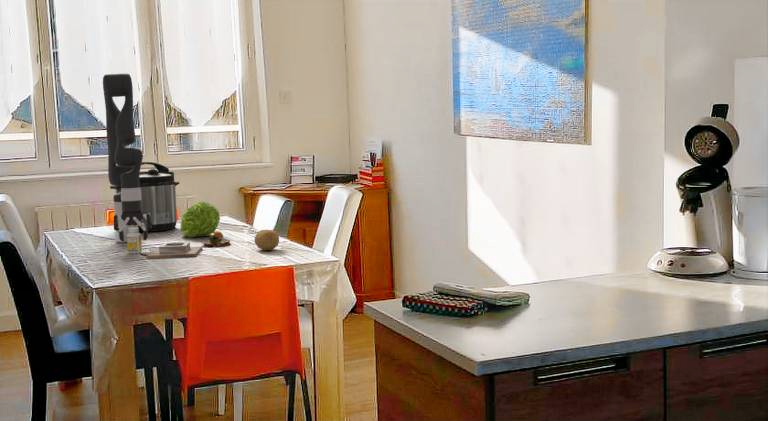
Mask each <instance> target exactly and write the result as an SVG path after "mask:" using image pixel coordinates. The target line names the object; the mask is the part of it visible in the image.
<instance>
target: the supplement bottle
mask: <svg viewBox="0 0 768 421" xmlns="http://www.w3.org/2000/svg"><path fill="white" fill-rule="evenodd" d="M128 232H129V233H128V234H127V242H126V247H127V250H126V251H127V253H128V254H140V253H142V234H141V233H140V231H139V228H128Z"/></svg>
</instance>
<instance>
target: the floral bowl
mask: <svg viewBox="0 0 768 421" xmlns="http://www.w3.org/2000/svg"><path fill="white" fill-rule="evenodd" d="M201 244H203V246H205V248H211V246H212V247H213V248H217V247H218V248H219V247H222V246H223V247H227V246H231V240H229V239H225V238H224V234H223V233H222V232H221V231H219V230H215V232H214V233H213V234H211V236H210V237H209V238H208V240H203V241H201Z"/></svg>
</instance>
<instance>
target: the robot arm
mask: <svg viewBox="0 0 768 421" xmlns="http://www.w3.org/2000/svg"><path fill="white" fill-rule="evenodd" d="M102 89H103V98H104V104H105V105H104V107H105V119H106V120H105V122H106V125H105V127H106V128H105V130H106V142H107V153H108V155H107V156H108V157H107V158H108V159H107V160H108V164H107V166H108V167H107V169H108V170H107V172H108V177H107V178H108V182H109V183H110V186H114V185H121V192H120V193H118V194H116V193H115V194H114V195H113V212H114V215H113V230H114V231H115V242H116V243H127V234H128V233H129V232H128V228H138V225H139V226H140V227H141V228H142V229H143V230H144V231H142V235H143V238H142V239H143V241H146V240H147V239H148V238H149V236H148V234H149V231H148V229H151V228H152V221H151V214H150V213H148V214H143V213H142V202H141V191H140V181H139V175H140V172H141V168H142V165H141V164H142V162H143V159H144V157H143V156H144V154H143V151H142V149H140V148H139V147H126V146H129V145H132V144H134V143H135V142H136V132H135V124H134V92H133V91H134V90H133V89H134V88H133V80H132V77H131V74H129V73H127V72H117V73H114V72H113V73H105V74H104V75H103V77H102ZM117 97H118V98H119V97H124V103H123V106H122V108H121V110H120V109H119V108H118V107H117V105H116V103H115V100H114V99H113V98H117ZM143 217H145V219H146V220H147V225H148V226H147V227H146V226H145V224H144V223H143V222H142V221H141V220H142V219H143ZM139 223H140V224H139Z"/></svg>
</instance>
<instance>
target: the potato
mask: <svg viewBox="0 0 768 421" xmlns="http://www.w3.org/2000/svg"><path fill="white" fill-rule="evenodd" d="M279 243H280V237H279V235H278V232H277V231H276V230H273V229H262V230H259V231H257V232H256V234H255V236H254V244H255V245H256V247H258V248H259V249H261V250H263V251H271V250H274V249H275V248H277V246H278V247H279Z"/></svg>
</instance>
